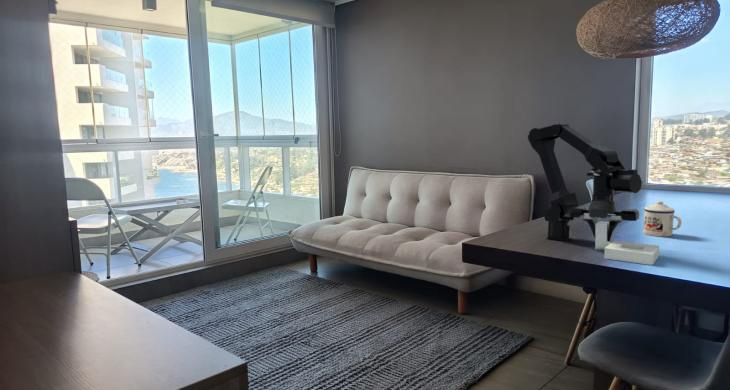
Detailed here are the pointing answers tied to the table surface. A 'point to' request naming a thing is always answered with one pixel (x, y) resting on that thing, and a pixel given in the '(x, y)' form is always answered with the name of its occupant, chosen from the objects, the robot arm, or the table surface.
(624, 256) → the hub block
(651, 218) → the teacup with lid
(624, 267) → the table surface
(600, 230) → the keyed peg
